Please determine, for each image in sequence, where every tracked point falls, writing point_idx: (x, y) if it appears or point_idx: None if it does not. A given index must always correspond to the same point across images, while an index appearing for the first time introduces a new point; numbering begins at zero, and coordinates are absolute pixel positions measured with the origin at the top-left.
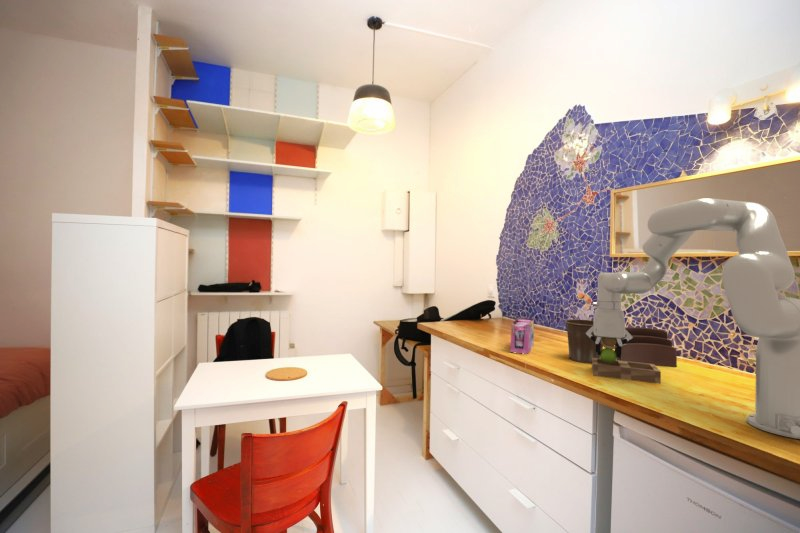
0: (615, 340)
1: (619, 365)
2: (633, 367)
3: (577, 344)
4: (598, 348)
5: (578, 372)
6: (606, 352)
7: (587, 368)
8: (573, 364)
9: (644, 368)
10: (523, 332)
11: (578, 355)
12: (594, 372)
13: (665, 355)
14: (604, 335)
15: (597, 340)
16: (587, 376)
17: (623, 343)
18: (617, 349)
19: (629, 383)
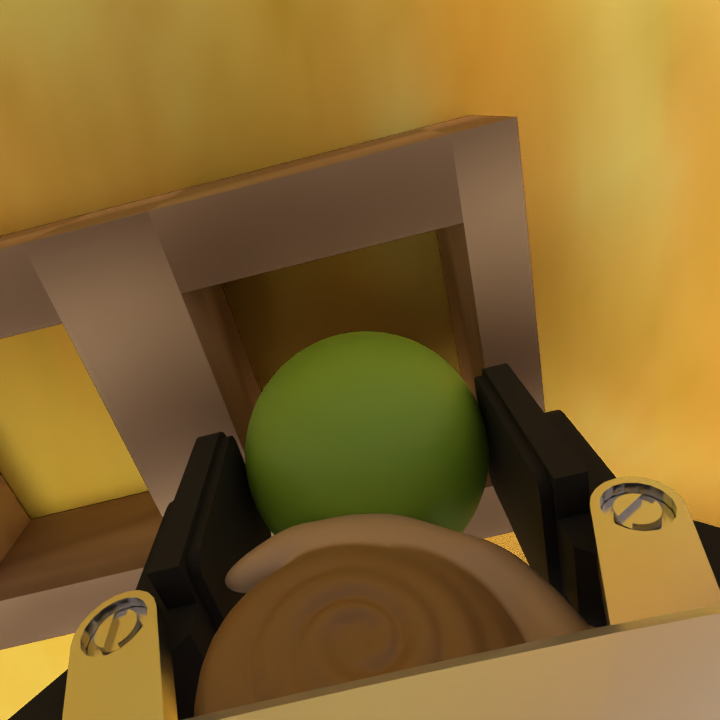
0: (212, 699)
1: (220, 380)
2: (138, 533)
3: None
4: (543, 419)
5: (633, 145)
6: (384, 391)
7: (549, 399)
8: (676, 458)
9: (41, 558)
10: None
11: None
12: (468, 117)
13: None
14: (556, 694)
15: (659, 549)
16: (528, 4)
17: (59, 693)
18: (202, 513)
19: (45, 23)
